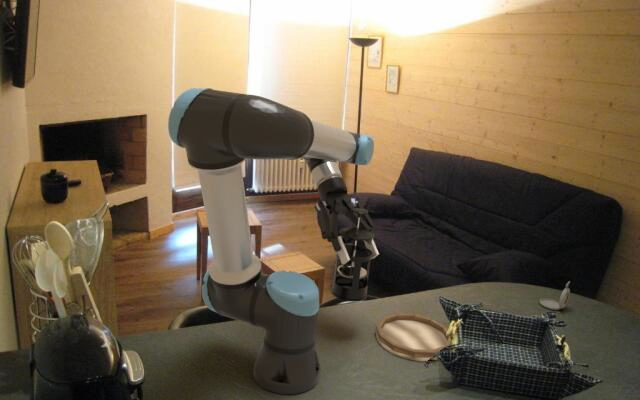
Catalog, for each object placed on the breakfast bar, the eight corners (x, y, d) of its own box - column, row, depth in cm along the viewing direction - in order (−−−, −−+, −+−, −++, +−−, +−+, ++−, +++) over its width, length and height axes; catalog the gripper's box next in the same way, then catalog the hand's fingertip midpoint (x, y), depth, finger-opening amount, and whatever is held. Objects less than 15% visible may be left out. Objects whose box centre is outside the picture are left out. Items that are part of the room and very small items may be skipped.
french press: (371, 303, 133) (384, 217, 127) (335, 302, 132) (346, 215, 126) (360, 283, 144) (371, 203, 139) (327, 282, 143) (336, 201, 137)
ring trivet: (413, 369, 126) (415, 360, 126) (360, 331, 142) (361, 323, 141) (467, 348, 138) (469, 340, 137) (413, 315, 153) (414, 307, 153)
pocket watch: (536, 299, 171) (543, 271, 169) (563, 303, 170) (570, 275, 168) (543, 311, 164) (550, 282, 161) (571, 315, 163) (578, 285, 160)
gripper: (353, 187, 150) (384, 259, 142) (289, 192, 137) (319, 272, 129) (367, 173, 144) (400, 247, 136) (302, 177, 132) (334, 259, 124)
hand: (360, 259), depth 133 cm, fingers closed on french press, 9 cm apart
